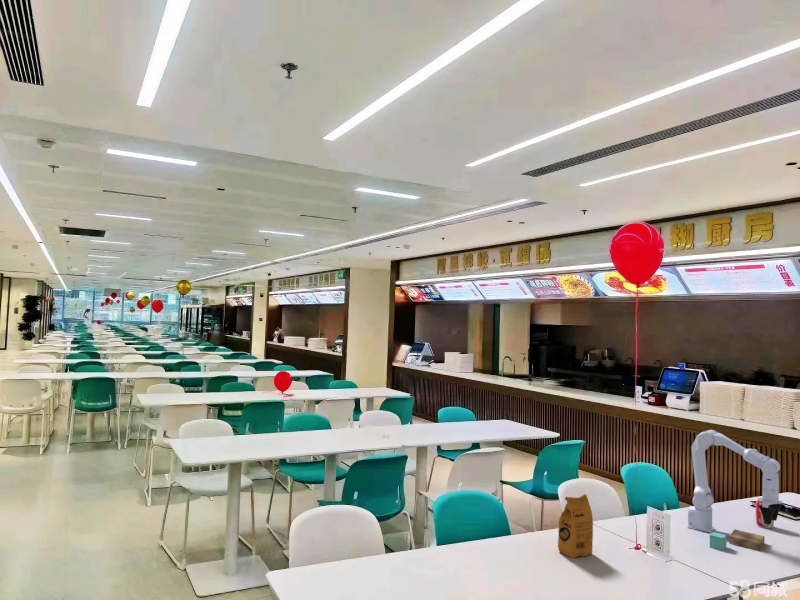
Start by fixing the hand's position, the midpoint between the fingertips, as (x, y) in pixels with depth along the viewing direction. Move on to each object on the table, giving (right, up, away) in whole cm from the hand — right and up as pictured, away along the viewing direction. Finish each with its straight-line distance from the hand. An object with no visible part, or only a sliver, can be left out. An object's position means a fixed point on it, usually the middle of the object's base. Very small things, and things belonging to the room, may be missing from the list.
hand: (770, 521), depth 235 cm
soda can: (+13, -12, +24) cm, 30 cm away
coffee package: (-86, -7, -14) cm, 88 cm away
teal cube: (-24, -9, -3) cm, 26 cm away
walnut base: (-9, -10, +2) cm, 13 cm away
